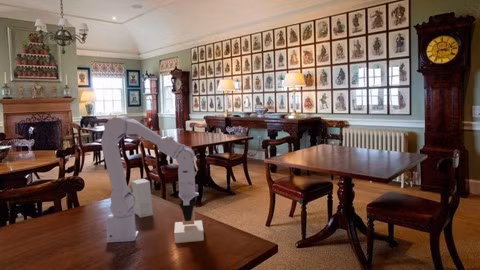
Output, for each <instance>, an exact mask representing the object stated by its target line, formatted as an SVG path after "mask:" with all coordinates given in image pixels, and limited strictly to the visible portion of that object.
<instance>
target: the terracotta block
mask: <svg viewBox="0 0 480 270" xmlns="http://www.w3.org/2000/svg"><path fill="white" fill-rule="evenodd" d="M181 213H182V214H181V215H182V222H183V225H189V224H194V221H195V206H194V207H193V210H192V218H191V221H185V219H184V215H183V212H182V211H181Z"/></svg>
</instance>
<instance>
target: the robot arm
mask: <svg viewBox="0 0 480 270" xmlns="http://www.w3.org/2000/svg"><path fill="white" fill-rule="evenodd" d="M103 127H104V130H103V133H102V135H101V139H100V145H101V149H102V153H103V157H104V161H105V165H106V170H107V173H108V179H109V182H110V186H111V194H110V206H109V208H110V209H109V210H110V212H111V214H108V215H107V217H106V224H105V225H106V239H107V240H106V243H118V242H119V243H120V242H121V243H123V242H124V243H125V242H134V241H136V239H137V236H138V235H139V233H140V232H139V231H138V230H136V214H135V211H134V205H135V202H136V199H135V197H134V195H133V191H132V189H131V187H129V186H128V183H127V179H126V175H125V170H124V166H123V161H122V157H121V152H120V148H119V142H120V141H121V140H122V138H123V137H124V136H125V135H137V136H140V137H141V138H143V139H145V140H147V141H149V142H151V143H152V144H154V145H156V147H157V149H158V151H159V152H161V153H163V154H164V155H166V156H168V157H170V158H171V159H173V160H176V163H177V164H178V166H177V167H178V169H177V174H178V197H179V199H180V201H178V206H179V207H180V209H181V213H182V212H183V215H184V219H185V221H191V218H192V210H193V207H194V208H195V204H196V198H197V197H198V196H200V195H199V192H197V191H196V179H195V177H196V176H195V171H196V170H195V163H194V159H195V155H196V154H195V151H194V150H193V149H192V148H191V146H186V145H185V144H181V143H180V142H178V141H177V140H174V139H175V138H174V137H173V136H168V135H167V136H161V135H160V134H158V133H156V132H155V131H154V130H151V128H149V127H147V126H146V125H144V124H142V123H141V122H139V121H138V120H136V119H134V118H131V117H130V116H129V115H125V114H124V115H119V116H113V117H111V118H109V119H108V121H107V122H106V123H105V124H104V126H103Z"/></svg>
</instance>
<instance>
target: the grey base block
mask: <svg viewBox="0 0 480 270" xmlns="http://www.w3.org/2000/svg"><path fill="white" fill-rule="evenodd" d="M173 233H174V244H180V243H188V242H202V241H204V240H205V237H204V227H203V221H202V219H201V220H194V224H189V225H183V221H175V222H174V231H173Z"/></svg>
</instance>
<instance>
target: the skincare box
mask: <svg viewBox="0 0 480 270" xmlns="http://www.w3.org/2000/svg"><path fill="white" fill-rule="evenodd" d="M131 188H132V189H131V190H132V194H133V195H134V197H135V199H136V202H135V205H134V206H133V209H134V214H135V215H137V216H138V217H139V218H144V217H150V216H153V215H154V213H153V211H154V210H153V201H152V192H151V191H152V190H151V182H150V180H147V179H146V178H139V179H134V180H131Z"/></svg>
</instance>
